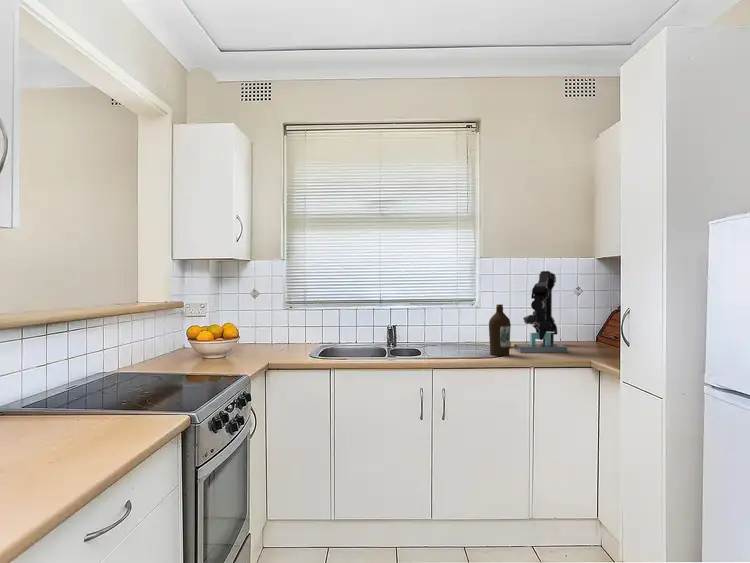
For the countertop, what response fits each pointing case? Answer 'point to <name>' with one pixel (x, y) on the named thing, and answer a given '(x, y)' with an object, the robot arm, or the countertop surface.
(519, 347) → the rail plate
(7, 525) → the countertop surface
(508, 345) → the olive oil
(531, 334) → the clip
